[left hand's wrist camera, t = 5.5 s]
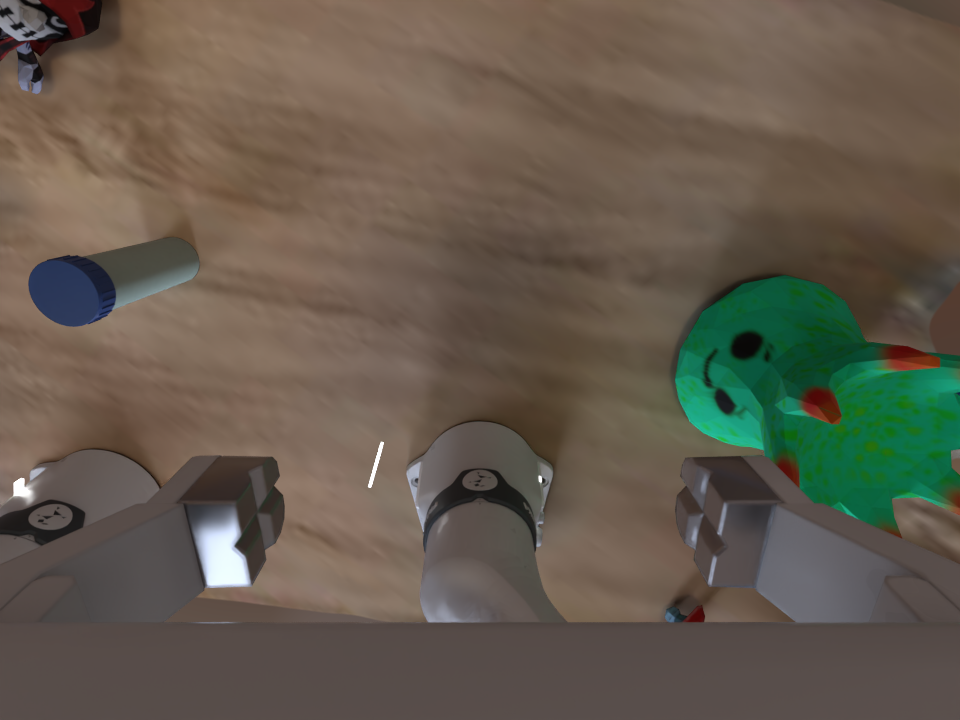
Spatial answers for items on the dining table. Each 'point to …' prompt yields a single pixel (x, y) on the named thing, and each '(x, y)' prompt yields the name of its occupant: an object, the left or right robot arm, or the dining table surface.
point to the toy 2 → (824, 399)
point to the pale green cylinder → (148, 267)
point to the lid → (72, 290)
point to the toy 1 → (42, 30)
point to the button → (694, 616)
